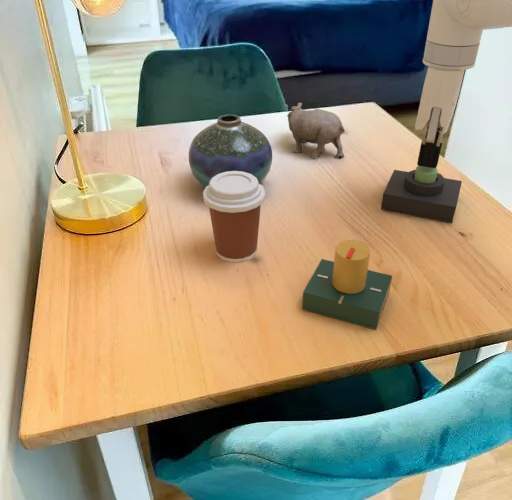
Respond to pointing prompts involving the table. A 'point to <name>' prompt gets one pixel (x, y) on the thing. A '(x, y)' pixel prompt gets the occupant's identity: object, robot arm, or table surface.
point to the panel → (347, 297)
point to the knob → (350, 266)
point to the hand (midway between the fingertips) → (427, 164)
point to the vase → (229, 150)
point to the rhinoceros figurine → (315, 129)
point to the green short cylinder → (425, 174)
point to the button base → (421, 196)
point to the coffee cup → (235, 214)
